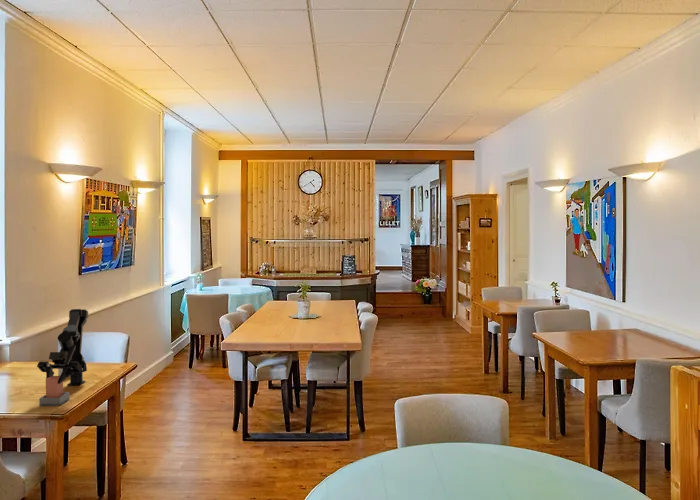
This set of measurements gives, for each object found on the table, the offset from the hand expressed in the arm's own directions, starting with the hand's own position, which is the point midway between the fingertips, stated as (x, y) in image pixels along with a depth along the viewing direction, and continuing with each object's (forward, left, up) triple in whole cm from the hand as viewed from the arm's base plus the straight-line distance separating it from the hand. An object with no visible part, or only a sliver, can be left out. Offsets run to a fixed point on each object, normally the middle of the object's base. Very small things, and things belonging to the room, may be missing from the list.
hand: (52, 383), depth 241 cm
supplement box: (-49, -15, -10) cm, 52 cm away
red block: (-1, 0, -7) cm, 7 cm away
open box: (-1, 0, -9) cm, 9 cm away
